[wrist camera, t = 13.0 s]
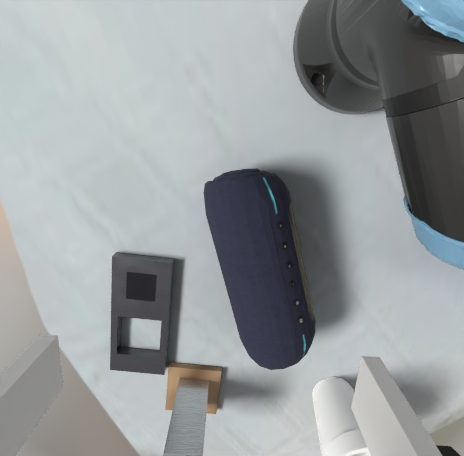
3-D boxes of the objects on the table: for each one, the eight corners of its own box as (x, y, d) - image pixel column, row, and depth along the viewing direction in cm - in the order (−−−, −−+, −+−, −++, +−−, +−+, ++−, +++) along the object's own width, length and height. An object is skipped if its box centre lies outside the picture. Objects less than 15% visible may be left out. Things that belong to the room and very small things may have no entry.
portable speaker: (310, 323, 47) (331, 371, 37) (244, 337, 47) (248, 388, 38) (275, 156, 40) (289, 160, 30) (200, 175, 41) (191, 185, 31)
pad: (221, 367, 48) (221, 371, 47) (216, 408, 50) (216, 413, 50) (170, 362, 48) (168, 366, 47) (166, 404, 50) (165, 409, 49)
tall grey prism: (209, 380, 48) (202, 456, 36) (206, 403, 49) (199, 485, 37) (179, 377, 48) (163, 452, 36) (177, 401, 49) (161, 482, 37)
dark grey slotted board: (174, 258, 44) (172, 263, 42) (166, 367, 48) (164, 375, 47) (116, 252, 43) (111, 256, 42) (114, 362, 48) (110, 370, 46)
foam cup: (292, 384, 49) (313, 467, 37) (346, 358, 48) (386, 435, 36) (319, 425, 52) (347, 516, 39) (370, 402, 50) (417, 488, 38)
